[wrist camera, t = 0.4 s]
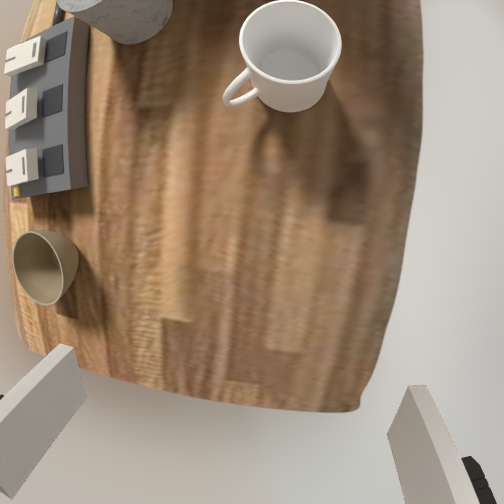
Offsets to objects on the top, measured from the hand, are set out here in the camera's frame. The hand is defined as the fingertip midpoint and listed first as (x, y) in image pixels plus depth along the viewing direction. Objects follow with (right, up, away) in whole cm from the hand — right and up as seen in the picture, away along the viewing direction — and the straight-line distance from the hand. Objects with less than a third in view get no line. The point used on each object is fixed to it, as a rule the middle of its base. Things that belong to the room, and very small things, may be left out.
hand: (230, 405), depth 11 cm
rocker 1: (-30, +32, +17) cm, 47 cm away
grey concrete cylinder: (-14, +37, +20) cm, 44 cm away
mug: (+4, +24, +22) cm, 33 cm away
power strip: (-28, +30, +23) cm, 47 cm away
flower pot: (-26, +5, +30) cm, 40 cm away
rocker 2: (-29, +24, +19) cm, 43 cm away
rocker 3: (-29, +16, +21) cm, 40 cm away
